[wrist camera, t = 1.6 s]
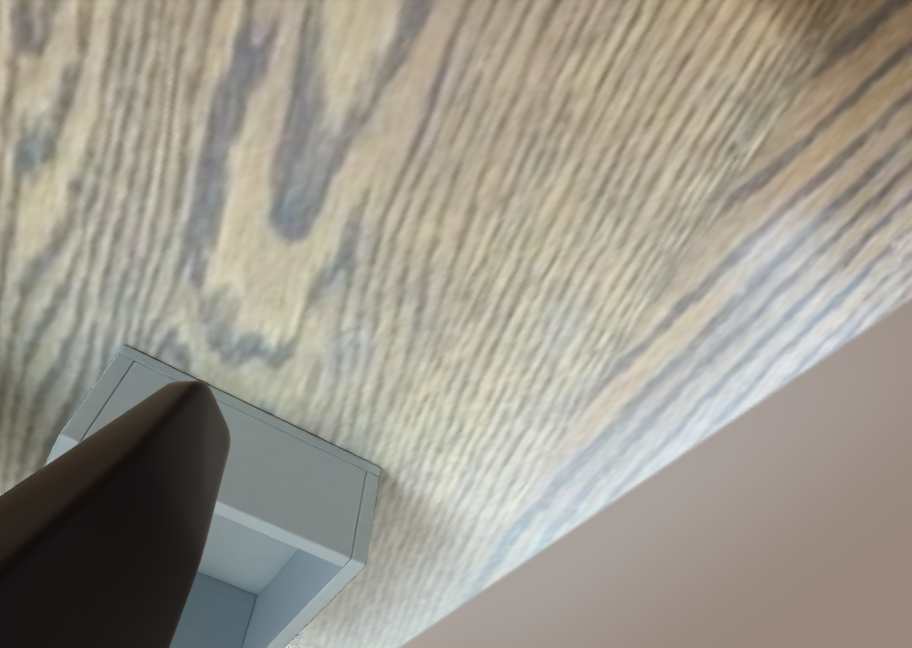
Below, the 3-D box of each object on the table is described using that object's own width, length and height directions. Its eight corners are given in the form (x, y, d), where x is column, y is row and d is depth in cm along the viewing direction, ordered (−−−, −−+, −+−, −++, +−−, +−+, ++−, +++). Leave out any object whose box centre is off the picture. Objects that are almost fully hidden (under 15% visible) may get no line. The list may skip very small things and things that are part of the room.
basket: (40, 507, 29) (-24, 605, 25) (123, 343, 24) (59, 434, 20) (266, 596, 32) (239, 694, 28) (382, 467, 27) (367, 565, 23)
